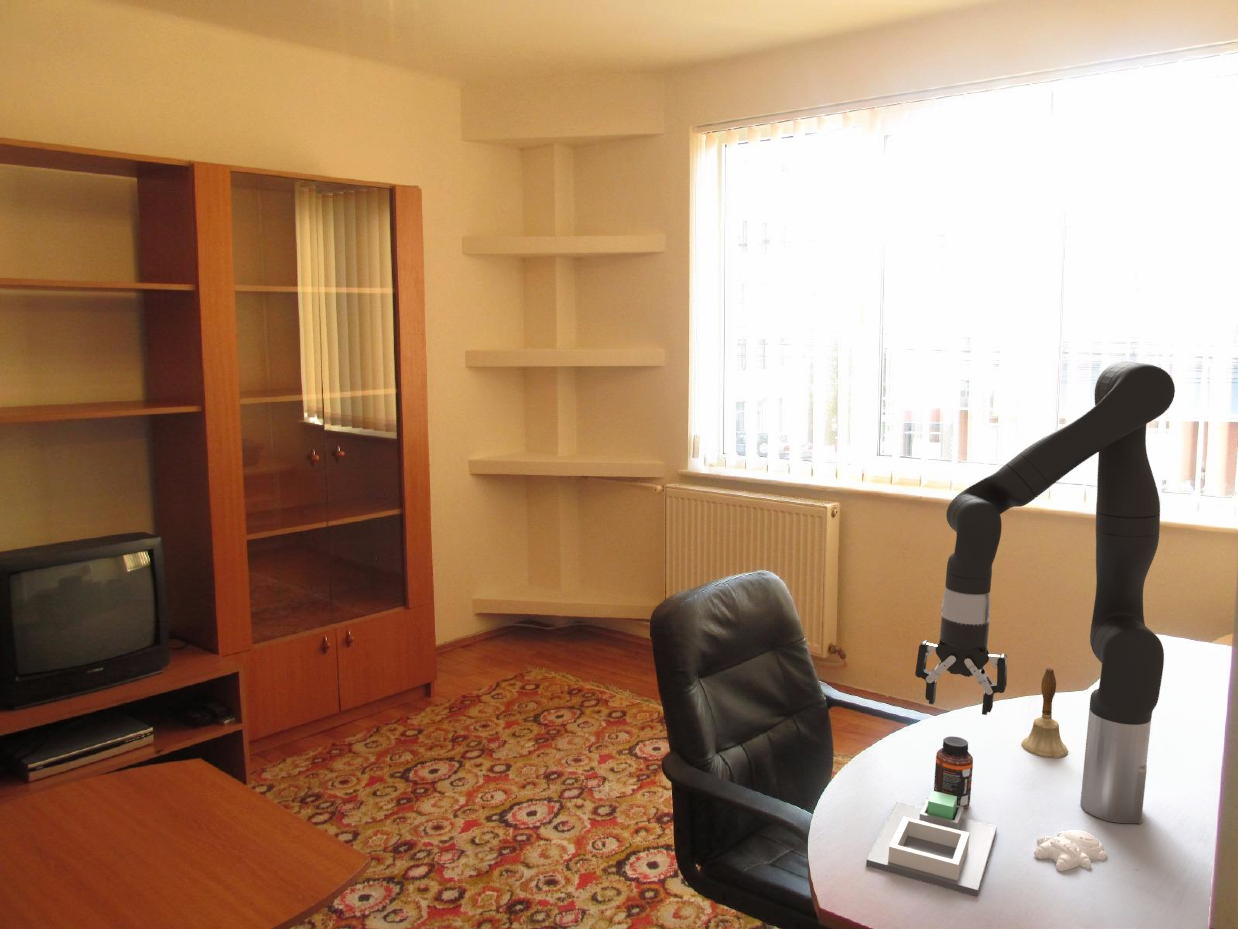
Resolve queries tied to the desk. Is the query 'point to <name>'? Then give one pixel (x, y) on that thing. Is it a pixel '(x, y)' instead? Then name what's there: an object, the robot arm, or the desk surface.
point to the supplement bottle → (954, 770)
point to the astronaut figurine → (1070, 849)
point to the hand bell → (1046, 725)
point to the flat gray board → (934, 848)
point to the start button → (942, 805)
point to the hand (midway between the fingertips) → (957, 708)
